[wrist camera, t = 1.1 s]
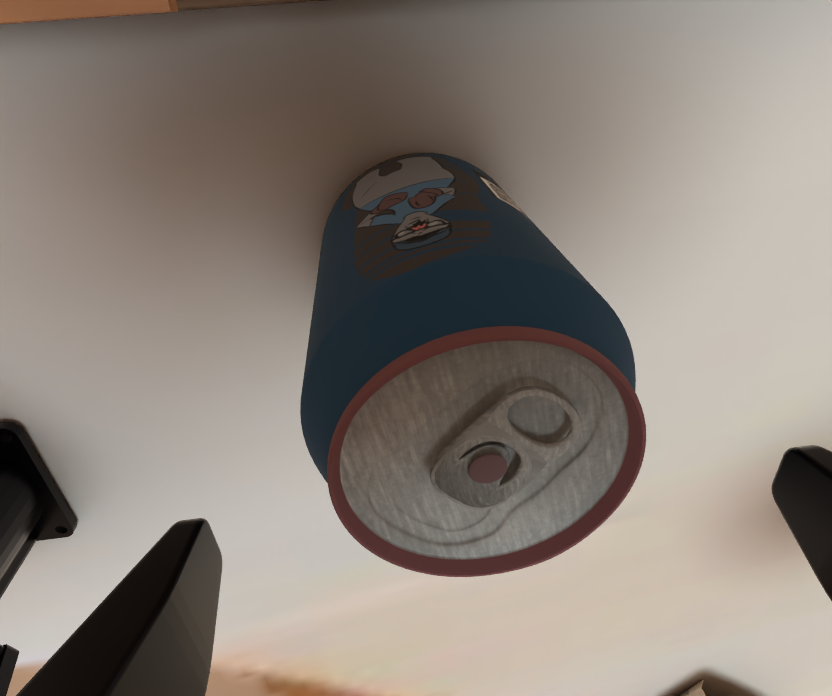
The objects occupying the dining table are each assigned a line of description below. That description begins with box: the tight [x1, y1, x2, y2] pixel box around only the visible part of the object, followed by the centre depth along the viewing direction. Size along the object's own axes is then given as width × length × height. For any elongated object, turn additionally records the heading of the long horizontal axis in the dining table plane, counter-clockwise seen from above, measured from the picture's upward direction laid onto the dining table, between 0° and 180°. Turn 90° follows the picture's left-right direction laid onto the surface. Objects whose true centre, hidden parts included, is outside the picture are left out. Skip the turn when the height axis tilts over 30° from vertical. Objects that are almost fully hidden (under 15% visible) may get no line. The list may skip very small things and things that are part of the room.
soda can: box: [300, 153, 646, 577], centre depth 15 cm, size 7×7×12 cm
